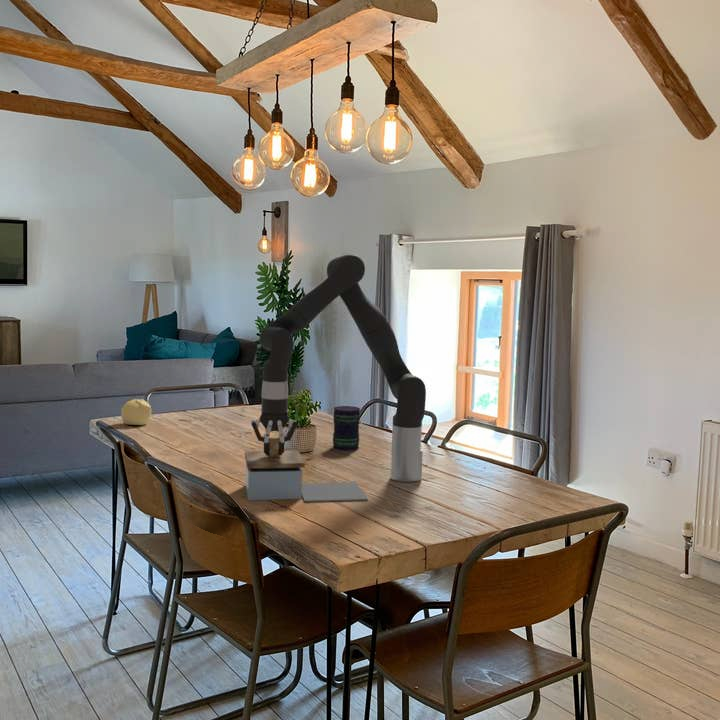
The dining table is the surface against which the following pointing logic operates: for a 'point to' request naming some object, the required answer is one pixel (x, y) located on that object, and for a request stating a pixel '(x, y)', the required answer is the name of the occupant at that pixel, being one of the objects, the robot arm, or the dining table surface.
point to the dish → (273, 483)
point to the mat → (332, 492)
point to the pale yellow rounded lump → (136, 412)
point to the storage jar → (346, 428)
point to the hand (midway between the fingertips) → (273, 454)
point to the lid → (274, 457)
